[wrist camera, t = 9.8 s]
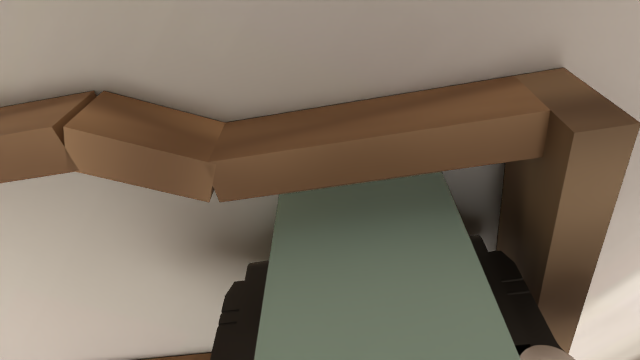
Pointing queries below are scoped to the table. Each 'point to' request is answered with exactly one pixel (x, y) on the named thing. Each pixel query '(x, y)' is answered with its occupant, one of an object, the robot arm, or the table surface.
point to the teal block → (377, 278)
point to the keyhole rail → (370, 160)
